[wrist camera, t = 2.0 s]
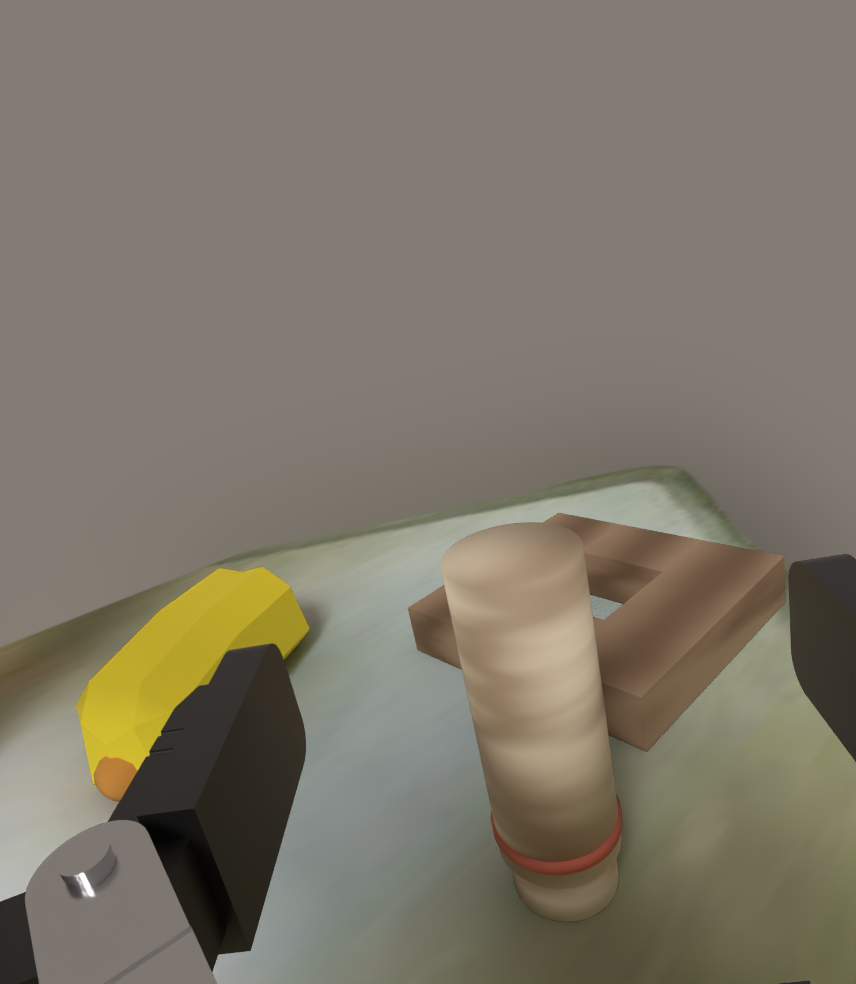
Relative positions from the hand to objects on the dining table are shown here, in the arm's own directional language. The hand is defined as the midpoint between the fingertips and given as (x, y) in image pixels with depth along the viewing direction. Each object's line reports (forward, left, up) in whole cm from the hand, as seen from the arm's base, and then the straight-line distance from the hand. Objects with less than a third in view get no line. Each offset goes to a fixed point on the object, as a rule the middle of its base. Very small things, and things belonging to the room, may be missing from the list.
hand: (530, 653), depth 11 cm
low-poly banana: (-32, +5, -18) cm, 37 cm away
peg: (-8, +8, -18) cm, 21 cm away
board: (-17, +23, -18) cm, 34 cm away
